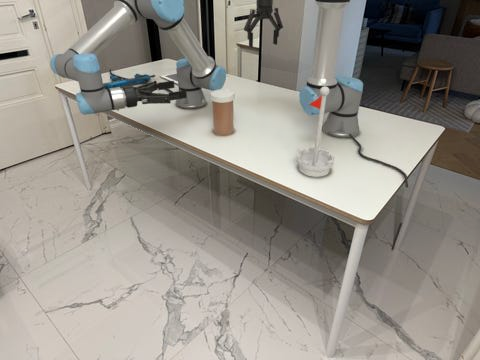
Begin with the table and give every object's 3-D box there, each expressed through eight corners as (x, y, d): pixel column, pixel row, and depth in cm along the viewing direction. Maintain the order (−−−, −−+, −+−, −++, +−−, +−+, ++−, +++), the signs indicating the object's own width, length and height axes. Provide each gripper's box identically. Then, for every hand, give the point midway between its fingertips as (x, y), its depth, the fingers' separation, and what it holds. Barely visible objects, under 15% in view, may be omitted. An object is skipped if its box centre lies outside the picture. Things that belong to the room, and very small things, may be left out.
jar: (221, 137, 145) (220, 99, 135) (209, 130, 150) (207, 93, 141) (237, 131, 149) (237, 94, 140) (225, 125, 155) (224, 89, 146)
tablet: (159, 76, 219) (159, 75, 219) (186, 70, 230) (186, 70, 230) (187, 88, 199) (187, 87, 198) (214, 81, 210) (214, 80, 210)
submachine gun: (141, 68, 225) (159, 74, 208) (142, 74, 227) (160, 80, 210) (89, 78, 206) (104, 86, 190) (91, 84, 208) (106, 92, 192)
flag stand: (319, 157, 130) (331, 78, 113) (339, 173, 119) (355, 90, 103) (289, 163, 126) (296, 83, 109) (307, 181, 115) (318, 95, 99)
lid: (220, 104, 136) (219, 99, 135) (205, 97, 142) (205, 92, 141) (239, 99, 141) (239, 93, 140) (225, 92, 148) (224, 87, 146)
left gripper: (118, 97, 133) (170, 89, 142) (134, 119, 115) (192, 108, 123) (114, 78, 129) (168, 71, 138) (130, 97, 111) (191, 88, 119)
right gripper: (283, -6, 163) (280, 41, 174) (236, -3, 154) (237, 46, 166) (292, -4, 157) (288, 44, 169) (243, -2, 148) (243, 49, 160)
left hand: (179, 88), depth 130 cm, fingers open, 13 cm apart
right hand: (263, 45), depth 167 cm, fingers open, 13 cm apart
